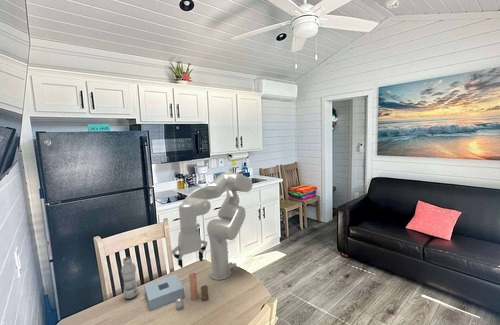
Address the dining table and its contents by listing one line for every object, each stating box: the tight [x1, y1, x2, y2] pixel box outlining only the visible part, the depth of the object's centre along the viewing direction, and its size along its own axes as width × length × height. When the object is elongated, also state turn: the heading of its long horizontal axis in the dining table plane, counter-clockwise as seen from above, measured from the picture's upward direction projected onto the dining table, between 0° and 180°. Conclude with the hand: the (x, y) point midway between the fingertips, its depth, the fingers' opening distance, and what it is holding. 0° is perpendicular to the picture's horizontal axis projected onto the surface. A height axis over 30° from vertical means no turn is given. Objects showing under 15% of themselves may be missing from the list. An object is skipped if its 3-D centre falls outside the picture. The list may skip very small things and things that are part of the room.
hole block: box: [143, 273, 186, 311], centre depth 123 cm, size 16×14×5 cm
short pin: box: [175, 297, 184, 311], centre depth 114 cm, size 3×3×4 cm
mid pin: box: [200, 284, 209, 302], centre depth 119 cm, size 3×3×6 cm
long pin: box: [188, 272, 199, 301], centre depth 120 cm, size 3×3×12 cm
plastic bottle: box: [120, 256, 139, 300], centre depth 122 cm, size 6×7×20 cm
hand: (191, 263), depth 118 cm, fingers open, 9 cm apart
